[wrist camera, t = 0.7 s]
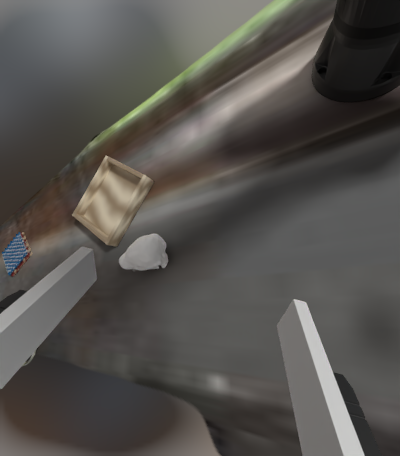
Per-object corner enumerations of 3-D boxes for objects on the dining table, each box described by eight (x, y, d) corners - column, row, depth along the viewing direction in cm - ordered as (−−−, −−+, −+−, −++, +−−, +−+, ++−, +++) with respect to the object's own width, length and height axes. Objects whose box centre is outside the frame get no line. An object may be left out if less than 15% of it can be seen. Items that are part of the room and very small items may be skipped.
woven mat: (15, 278, 60) (7, 278, 58) (8, 253, 65) (0, 253, 63) (35, 254, 59) (27, 253, 57) (26, 231, 63) (18, 230, 62)
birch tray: (114, 161, 53) (106, 155, 51) (154, 181, 46) (146, 176, 44) (82, 218, 53) (72, 215, 51) (117, 246, 46) (107, 245, 44)
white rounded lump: (149, 264, 32) (100, 278, 36) (178, 265, 39) (135, 276, 44) (145, 228, 33) (100, 245, 38) (174, 235, 41) (132, 249, 46)
